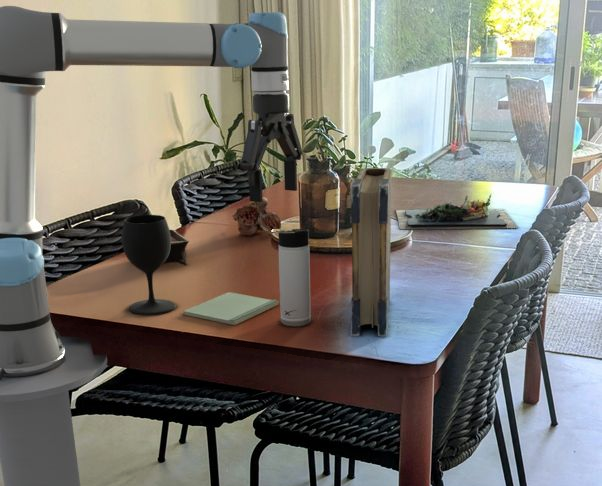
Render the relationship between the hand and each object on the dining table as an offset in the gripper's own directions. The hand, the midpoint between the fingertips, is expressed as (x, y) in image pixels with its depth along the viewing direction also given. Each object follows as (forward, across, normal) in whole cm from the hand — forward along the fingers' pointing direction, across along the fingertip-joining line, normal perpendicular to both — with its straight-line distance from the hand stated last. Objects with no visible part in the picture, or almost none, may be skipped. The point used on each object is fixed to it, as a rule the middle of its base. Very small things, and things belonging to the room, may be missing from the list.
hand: (274, 195), depth 185 cm
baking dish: (+24, +14, +46) cm, 54 cm away
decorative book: (+24, 0, -24) cm, 34 cm away
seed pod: (+24, +52, +41) cm, 70 cm away
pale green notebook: (+24, -9, +6) cm, 26 cm away
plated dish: (+24, +96, -3) cm, 99 cm away
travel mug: (+24, -10, -11) cm, 28 cm away
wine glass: (+24, -17, +22) cm, 37 cm away
